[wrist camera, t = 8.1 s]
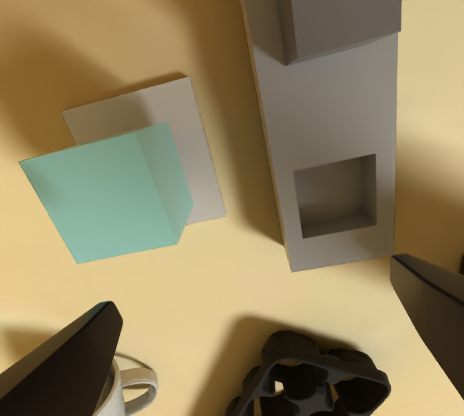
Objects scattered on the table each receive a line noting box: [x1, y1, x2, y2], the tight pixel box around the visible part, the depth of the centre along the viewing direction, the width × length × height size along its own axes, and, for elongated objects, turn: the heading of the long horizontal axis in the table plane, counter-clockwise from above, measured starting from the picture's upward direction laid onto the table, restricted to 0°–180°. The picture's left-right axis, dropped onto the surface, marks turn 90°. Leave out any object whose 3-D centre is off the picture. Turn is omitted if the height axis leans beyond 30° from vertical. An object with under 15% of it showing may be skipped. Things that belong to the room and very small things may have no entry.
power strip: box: [240, 0, 402, 272], centre depth 14 cm, size 20×7×6 cm, turn 13°
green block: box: [19, 121, 194, 264], centre depth 15 cm, size 6×6×7 cm
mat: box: [61, 77, 227, 225], centre depth 19 cm, size 10×9×1 cm
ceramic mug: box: [93, 358, 158, 416], centre depth 26 cm, size 11×8×8 cm
